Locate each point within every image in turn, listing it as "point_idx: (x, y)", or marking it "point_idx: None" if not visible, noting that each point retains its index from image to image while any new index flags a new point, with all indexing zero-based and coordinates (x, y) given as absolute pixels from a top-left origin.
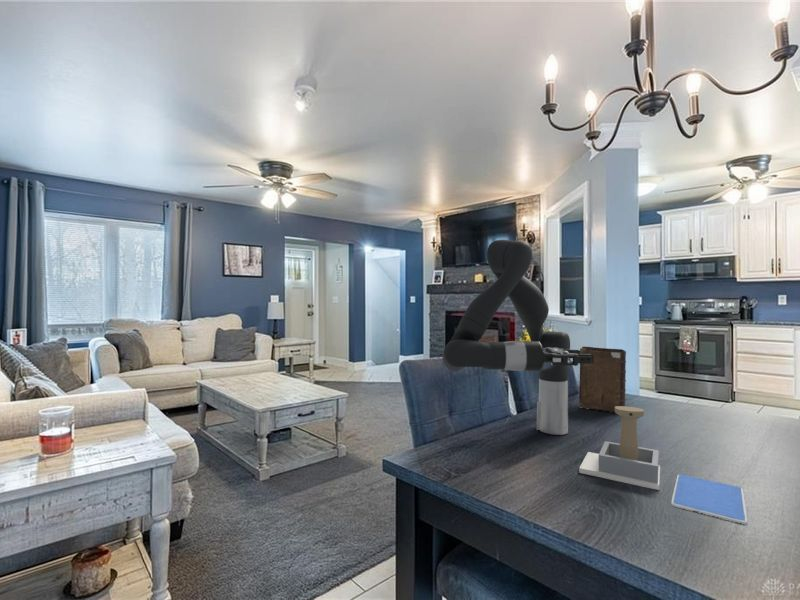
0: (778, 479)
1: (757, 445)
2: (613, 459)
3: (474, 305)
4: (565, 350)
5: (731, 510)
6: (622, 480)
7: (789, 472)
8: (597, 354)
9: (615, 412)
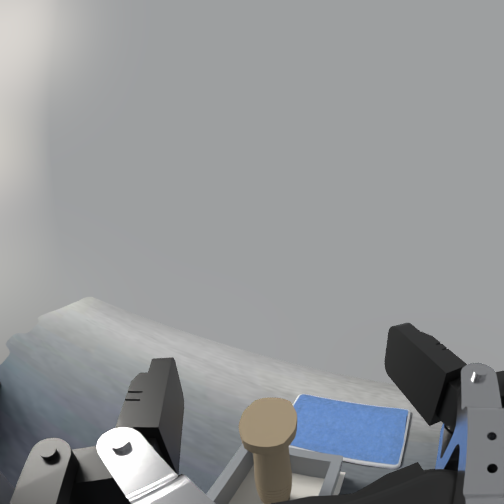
0: (251, 360)
1: (146, 337)
2: None
3: None
4: (154, 431)
5: (385, 415)
6: None
7: (227, 347)
8: None
9: (269, 454)
